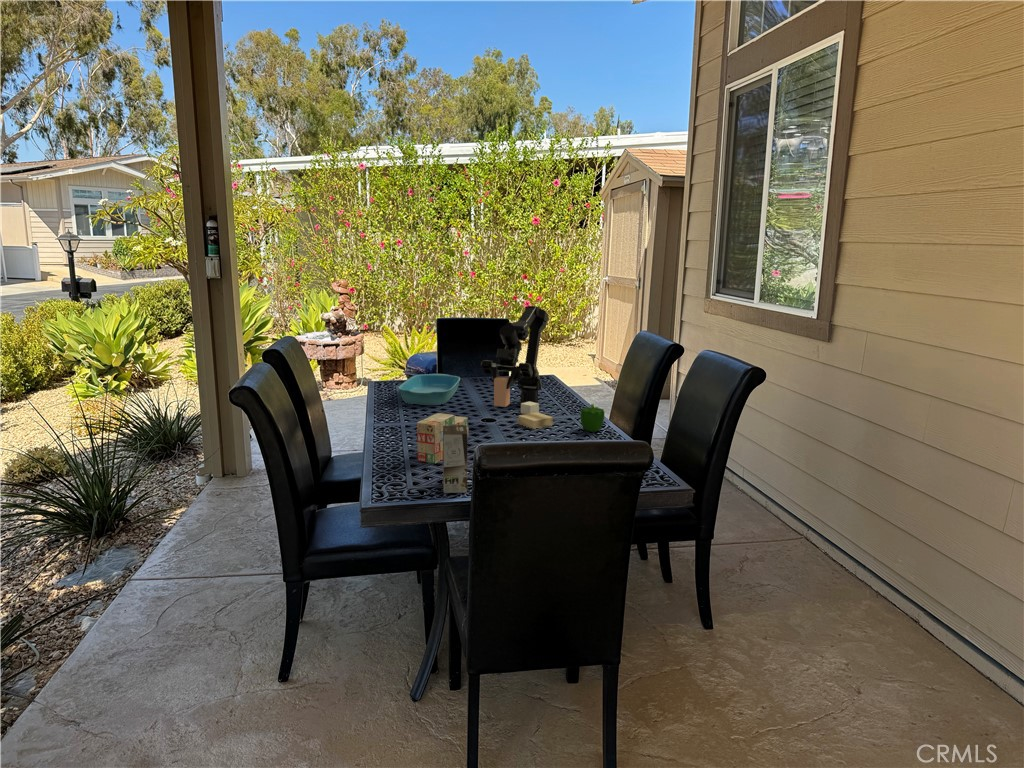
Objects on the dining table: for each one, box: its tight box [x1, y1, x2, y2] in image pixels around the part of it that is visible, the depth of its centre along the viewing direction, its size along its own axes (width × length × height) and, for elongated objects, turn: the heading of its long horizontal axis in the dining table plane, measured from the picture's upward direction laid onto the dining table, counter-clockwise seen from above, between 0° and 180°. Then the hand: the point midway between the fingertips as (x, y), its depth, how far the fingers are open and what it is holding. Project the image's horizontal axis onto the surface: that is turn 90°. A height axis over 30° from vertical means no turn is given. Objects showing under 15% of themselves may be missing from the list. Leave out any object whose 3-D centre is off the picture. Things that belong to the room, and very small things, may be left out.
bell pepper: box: [580, 403, 606, 433], centre depth 231 cm, size 8×8×10 cm
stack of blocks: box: [416, 412, 469, 464], centre depth 203 cm, size 21×6×12 cm, turn 156°
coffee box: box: [442, 425, 469, 494], centre depth 173 cm, size 9×6×16 cm
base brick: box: [517, 412, 554, 430], centre depth 237 cm, size 9×9×4 cm
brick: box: [520, 401, 540, 415], centre depth 254 cm, size 5×5×4 cm
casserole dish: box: [397, 373, 461, 406], centre depth 277 cm, size 37×22×7 cm, turn 174°
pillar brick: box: [493, 376, 511, 408], centre depth 237 cm, size 4×4×10 cm
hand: (500, 387), depth 235 cm, fingers closed on pillar brick, 4 cm apart
